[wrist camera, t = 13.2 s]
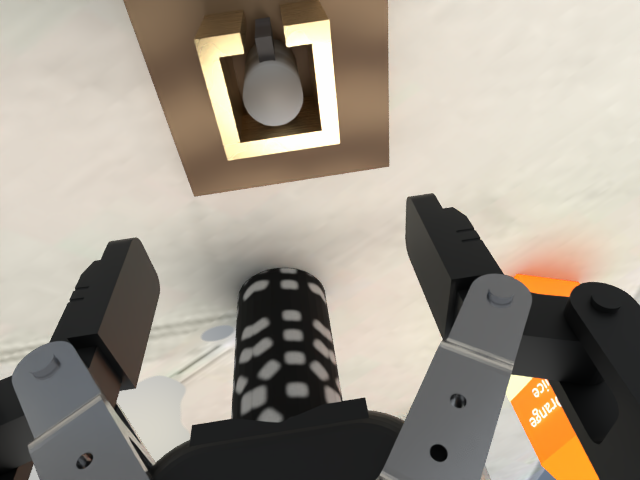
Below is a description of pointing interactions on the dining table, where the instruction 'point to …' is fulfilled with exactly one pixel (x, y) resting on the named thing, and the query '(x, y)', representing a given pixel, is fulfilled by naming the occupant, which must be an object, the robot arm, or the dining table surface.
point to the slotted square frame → (232, 118)
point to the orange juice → (548, 408)
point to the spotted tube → (283, 348)
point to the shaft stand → (268, 88)
